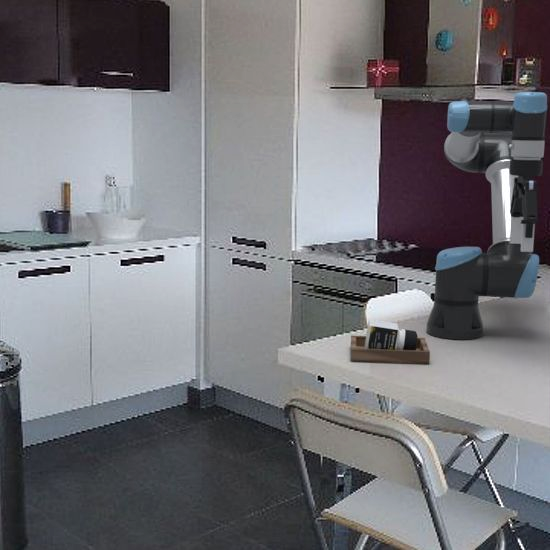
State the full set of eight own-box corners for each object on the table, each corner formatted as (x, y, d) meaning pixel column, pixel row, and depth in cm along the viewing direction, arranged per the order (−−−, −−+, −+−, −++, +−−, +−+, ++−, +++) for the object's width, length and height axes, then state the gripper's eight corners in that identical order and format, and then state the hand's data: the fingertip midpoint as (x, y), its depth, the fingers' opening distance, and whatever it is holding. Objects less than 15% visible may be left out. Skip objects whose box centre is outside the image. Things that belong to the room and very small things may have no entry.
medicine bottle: (369, 325, 200) (420, 333, 200) (368, 318, 207) (417, 326, 207) (365, 354, 202) (415, 362, 201) (364, 346, 209) (412, 354, 208)
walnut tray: (350, 347, 214) (351, 335, 213) (424, 349, 212) (424, 337, 212) (351, 361, 201) (351, 349, 200) (429, 364, 199) (429, 352, 199)
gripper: (501, 156, 213) (496, 239, 217) (521, 160, 189) (515, 254, 192) (531, 156, 213) (525, 240, 216) (555, 161, 188) (548, 255, 192)
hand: (520, 247), depth 204 cm, fingers open, 13 cm apart
